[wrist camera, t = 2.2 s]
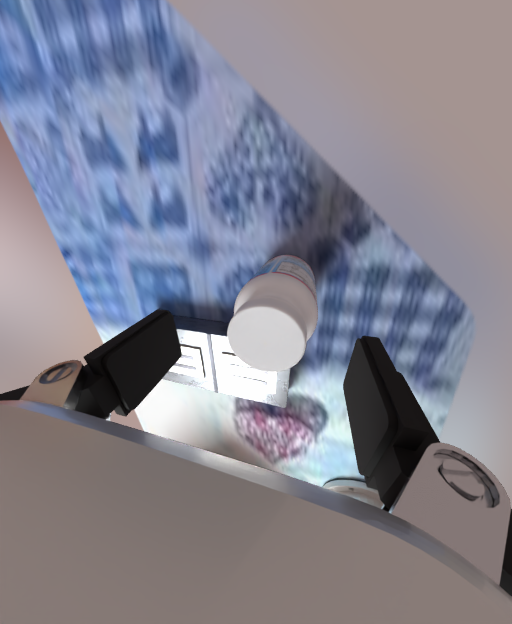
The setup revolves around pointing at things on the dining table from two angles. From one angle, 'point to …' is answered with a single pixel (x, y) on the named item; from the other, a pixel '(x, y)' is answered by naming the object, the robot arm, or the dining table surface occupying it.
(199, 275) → the dining table surface
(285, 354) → the pill bottle
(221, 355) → the panel
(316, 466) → the dining table surface
